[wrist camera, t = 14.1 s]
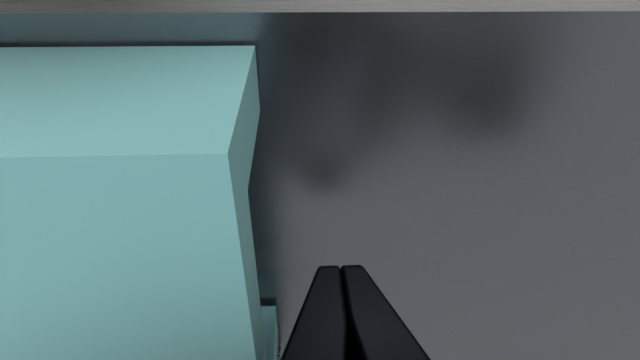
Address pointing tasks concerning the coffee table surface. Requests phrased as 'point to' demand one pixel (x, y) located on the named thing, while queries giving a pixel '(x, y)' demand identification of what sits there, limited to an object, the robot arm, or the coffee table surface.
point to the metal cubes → (428, 156)
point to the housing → (129, 205)
